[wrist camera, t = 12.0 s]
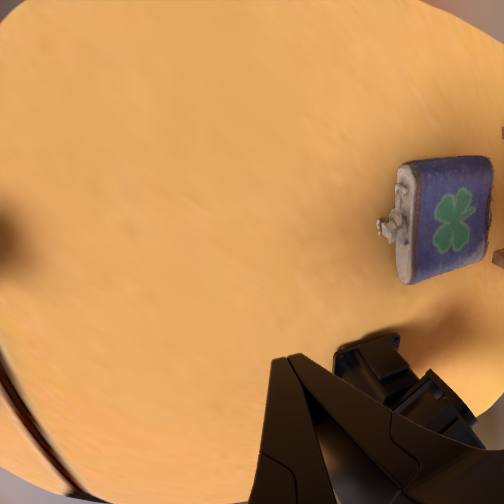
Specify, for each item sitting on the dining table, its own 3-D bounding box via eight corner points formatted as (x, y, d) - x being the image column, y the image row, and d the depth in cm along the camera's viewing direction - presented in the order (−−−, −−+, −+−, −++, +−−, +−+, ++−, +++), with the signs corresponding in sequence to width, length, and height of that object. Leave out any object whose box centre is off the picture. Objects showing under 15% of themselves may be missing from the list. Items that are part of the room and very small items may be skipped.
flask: (485, 265, 21) (389, 298, 20) (465, 251, 23) (370, 279, 23) (496, 157, 17) (391, 165, 16) (471, 151, 20) (368, 158, 19)
